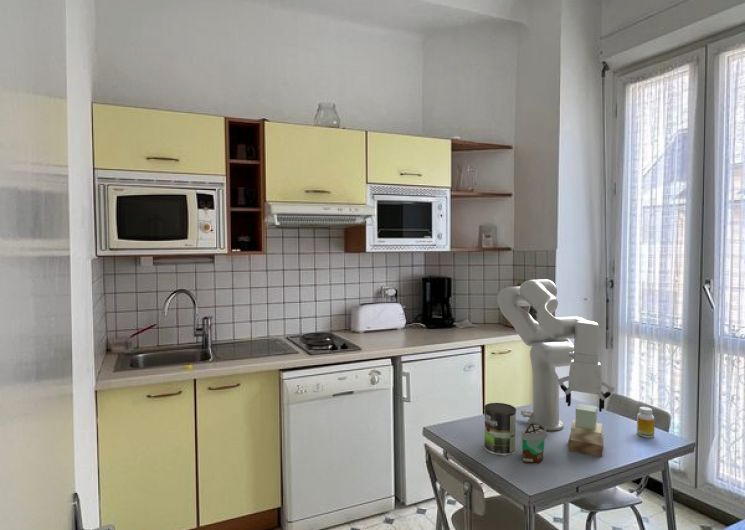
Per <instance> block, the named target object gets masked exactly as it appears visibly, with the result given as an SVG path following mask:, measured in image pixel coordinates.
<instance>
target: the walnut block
mask: <svg viewBox="0 0 745 530" xmlns="http://www.w3.org/2000/svg"><path fill="white" fill-rule="evenodd" d="M568 437H569V438H568V449H567V450H568V452H574V453H578V454H579V453H580V454H584V455H588V456H589V455H590V456H595V457H598V458H599V457H600V458H602V457H603V453H604V452H603V451H604V434H602V441H601V445H597V444H591V443H586V442H580V441H574V440H571V432H570V434H569V436H568Z"/></svg>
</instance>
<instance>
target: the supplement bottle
mask: <svg viewBox="0 0 745 530" xmlns="http://www.w3.org/2000/svg"><path fill="white" fill-rule="evenodd" d="M638 409H639V412H638V413H637V415H636V433H637V436H640V437H643V438H646V439H647V438H649V439H650V438H652V439H653V438H654V437H655V416H654V415H653V409H652V408H651V407H647V406H640V407H639V408H638Z"/></svg>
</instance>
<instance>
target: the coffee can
mask: <svg viewBox="0 0 745 530" xmlns="http://www.w3.org/2000/svg"><path fill="white" fill-rule="evenodd" d="M483 408H484V439H483V440H484V442H483V443H484V444H483V445H484V446H483V447H484V450H485V451H486V452H487V453H489V454H492V455H496V456H501V457H502V456H503V457H504V456H506V457H507V456H512V455H514V454H516V433H517V432H516V428H517V427H516V423H517V421H516V420H517V416H516V415H517V408H516V407H515V406H514V405H511V404H507V403H504V402H502V403H501V402H490V403H486V404H485V405H484V407H483Z"/></svg>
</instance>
